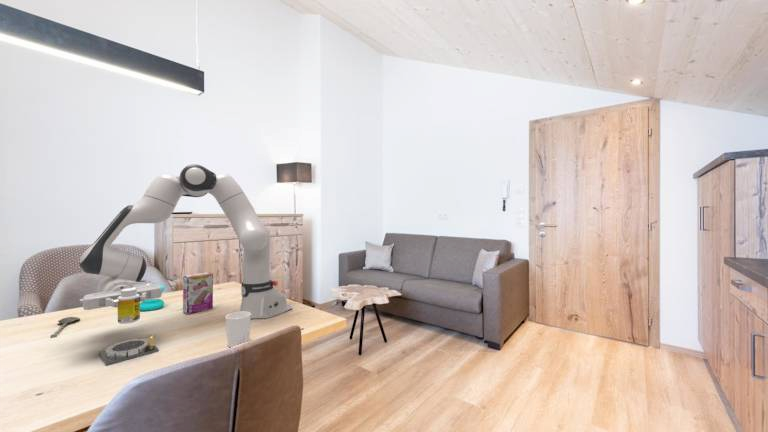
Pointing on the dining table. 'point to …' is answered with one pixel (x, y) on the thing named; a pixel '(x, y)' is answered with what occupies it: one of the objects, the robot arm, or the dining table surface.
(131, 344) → the dock
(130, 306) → the supplement bottle
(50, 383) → the dining table surface
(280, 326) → the dining table surface
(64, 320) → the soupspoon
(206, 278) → the candy bar box
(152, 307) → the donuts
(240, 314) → the white cup
